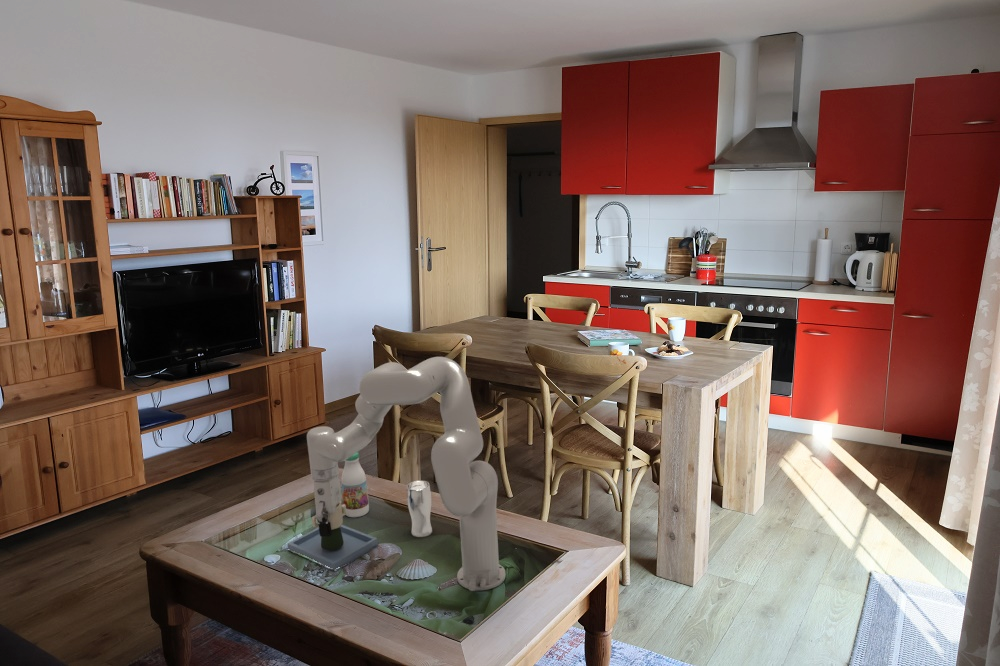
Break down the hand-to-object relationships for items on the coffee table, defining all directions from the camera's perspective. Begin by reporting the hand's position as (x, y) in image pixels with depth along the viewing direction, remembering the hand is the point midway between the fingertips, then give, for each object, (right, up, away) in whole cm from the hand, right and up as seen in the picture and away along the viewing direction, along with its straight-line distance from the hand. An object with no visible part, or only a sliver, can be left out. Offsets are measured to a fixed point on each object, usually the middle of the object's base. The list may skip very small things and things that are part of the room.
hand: (331, 527), depth 206 cm
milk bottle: (+3, -2, +23) cm, 23 cm away
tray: (0, -7, +2) cm, 7 cm away
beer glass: (+25, -4, +8) cm, 26 cm away
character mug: (0, -6, +1) cm, 6 cm away
